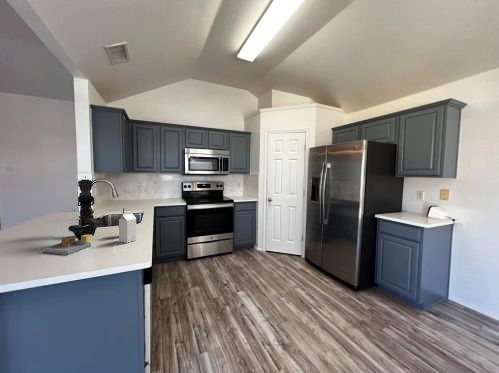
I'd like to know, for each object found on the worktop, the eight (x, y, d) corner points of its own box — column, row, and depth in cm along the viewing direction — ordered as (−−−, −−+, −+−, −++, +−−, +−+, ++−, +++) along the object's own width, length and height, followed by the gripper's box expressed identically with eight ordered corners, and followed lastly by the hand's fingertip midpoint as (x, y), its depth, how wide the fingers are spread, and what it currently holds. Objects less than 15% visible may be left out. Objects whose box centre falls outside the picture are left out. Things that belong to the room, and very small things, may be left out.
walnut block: (69, 244, 132) (68, 236, 132) (75, 244, 131) (75, 237, 131) (61, 246, 127) (61, 239, 127) (68, 247, 127) (67, 239, 126)
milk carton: (136, 240, 145) (136, 212, 144) (127, 243, 139) (127, 214, 137) (128, 239, 148) (128, 211, 146) (118, 242, 141) (118, 213, 140)
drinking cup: (124, 238, 149) (124, 209, 148) (114, 237, 150) (114, 208, 149) (132, 235, 156) (132, 207, 155) (123, 234, 158) (123, 207, 157)
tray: (67, 244, 133) (67, 240, 133) (90, 246, 131) (90, 242, 131) (43, 252, 120) (43, 248, 119) (68, 255, 117) (68, 250, 117)
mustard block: (86, 241, 141) (86, 234, 141) (92, 241, 140) (92, 234, 140) (80, 243, 136) (79, 236, 136) (86, 243, 136) (86, 236, 136)
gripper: (83, 217, 127) (84, 243, 128) (108, 212, 145) (109, 235, 146) (67, 216, 129) (67, 242, 129) (94, 211, 147) (94, 234, 148)
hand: (86, 238), depth 138 cm, fingers open, 9 cm apart
